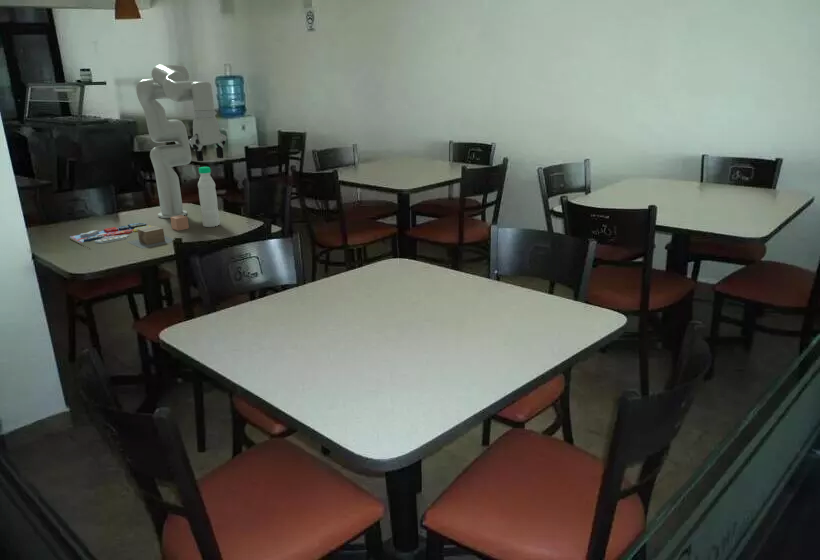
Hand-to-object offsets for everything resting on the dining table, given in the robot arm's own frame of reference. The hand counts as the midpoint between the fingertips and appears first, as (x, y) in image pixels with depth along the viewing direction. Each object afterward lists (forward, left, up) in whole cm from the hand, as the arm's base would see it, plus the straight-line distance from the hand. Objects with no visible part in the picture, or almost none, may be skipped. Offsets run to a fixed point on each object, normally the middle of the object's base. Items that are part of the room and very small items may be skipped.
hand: (210, 159), depth 245 cm
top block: (-14, -10, -30) cm, 34 cm away
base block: (-3, -27, -29) cm, 39 cm away
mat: (-3, -27, -30) cm, 40 cm away
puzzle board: (-25, -31, -31) cm, 50 cm away
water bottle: (-12, +3, -30) cm, 32 cm away
